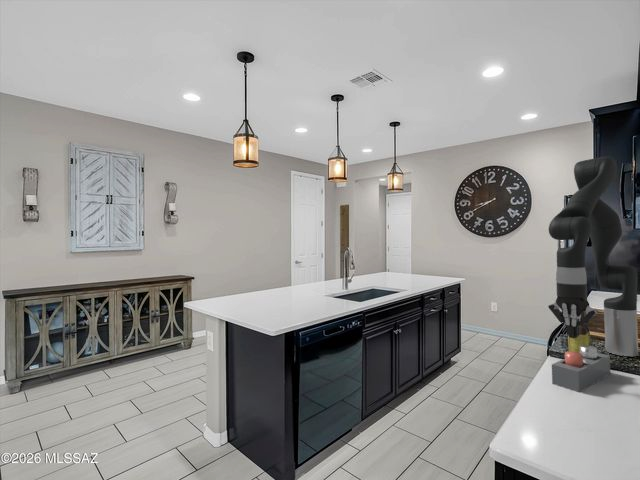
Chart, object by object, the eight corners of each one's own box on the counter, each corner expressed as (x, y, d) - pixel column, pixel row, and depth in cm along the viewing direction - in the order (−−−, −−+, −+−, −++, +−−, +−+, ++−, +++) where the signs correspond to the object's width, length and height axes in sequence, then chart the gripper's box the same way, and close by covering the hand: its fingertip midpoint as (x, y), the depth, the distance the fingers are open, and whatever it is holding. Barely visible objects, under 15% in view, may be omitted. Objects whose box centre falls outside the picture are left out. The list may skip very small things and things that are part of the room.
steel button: (583, 359, 111) (583, 344, 111) (600, 363, 108) (599, 347, 108) (577, 362, 109) (577, 346, 109) (594, 366, 105) (593, 350, 105)
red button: (569, 366, 106) (568, 350, 106) (585, 370, 102) (585, 354, 102) (562, 369, 104) (562, 353, 104) (579, 373, 100) (578, 357, 100)
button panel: (584, 367, 114) (584, 349, 114) (610, 374, 108) (609, 355, 108) (552, 383, 103) (551, 364, 103) (578, 392, 97) (578, 371, 97)
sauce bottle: (595, 366, 115) (593, 308, 115) (575, 365, 116) (573, 308, 116) (584, 359, 122) (582, 304, 121) (565, 358, 123) (563, 304, 123)
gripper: (602, 282, 99) (604, 340, 99) (553, 278, 111) (555, 330, 111) (591, 284, 96) (593, 345, 96) (541, 280, 107) (543, 334, 107)
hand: (572, 337), depth 103 cm, fingers closed
